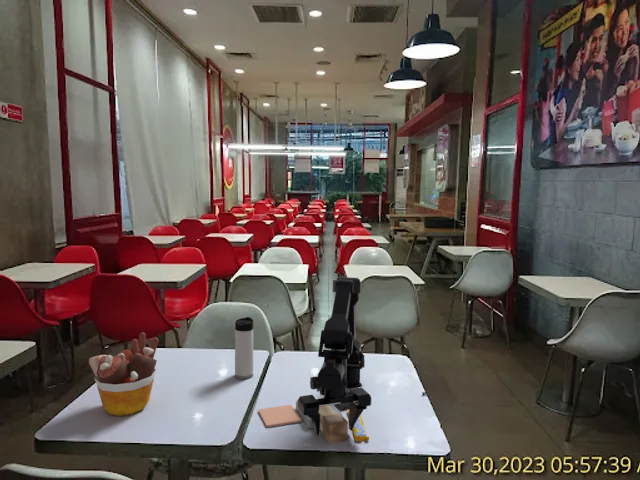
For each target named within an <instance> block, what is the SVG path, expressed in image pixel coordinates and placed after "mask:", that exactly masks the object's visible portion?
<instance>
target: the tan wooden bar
mask: <svg viewBox="0 0 640 480" xmlns="http://www.w3.org/2000/svg"><path fill="white" fill-rule="evenodd" d="M318 413H319V414H320V432H322V429H323V416H327V415H333V414H336V413H335V412H334V410H333V409H332V408H331V407H330V406H329V405H328V406H322V407H319V412H318Z"/></svg>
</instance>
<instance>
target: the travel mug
mask: <svg viewBox="0 0 640 480" xmlns="http://www.w3.org/2000/svg"><path fill="white" fill-rule="evenodd" d="M234 325H235V327H234V376H235V378H237V379H239V380H247V379H251V378H252V377H253V376H254V320H253V318H252V317H251V316H250V317H249V316H246V317H242V318H238V319H236V320H235V324H234Z"/></svg>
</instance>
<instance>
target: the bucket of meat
mask: <svg viewBox="0 0 640 480" xmlns="http://www.w3.org/2000/svg"><path fill="white" fill-rule="evenodd" d="M138 336H139V337H138V339H137V338H133V339H131V343H130V344H131V345H130V346H131V348H127V349H123V350H122V351H120V353H118V354H117V355H115V354H114V355H111V354H108V355H107V354H100V355H96V356H92V357H90V358H89V359H88V364H89V367H90V368H91V369H92V372H93V373H94V381H95V383H96V387H97V390H98V391H97V392H98V394H99V398H100V402H101V405H102V408H103V410H105V412H107V414H109V415H111V416H118V417H123V416H129V415H130V416H131V415H133V414H136V413H139V412H140V411H143V410H144V409H145V407H146V406H147V405H148V403H149V402H150V398H151V394H152V390H153V384H154V380H155V374H156V372H157V371H156V370H157V369H156V366H157V361H158V360H157V359H154V357H155V354H156V351H157V347H158V345H159V342H160V339H159V338H158V337H154V338H153V339H152V341H151V345H150V348H149V347H147V334H146V333H145V332H140V334H139V335H138Z"/></svg>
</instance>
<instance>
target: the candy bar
mask: <svg viewBox="0 0 640 480" xmlns="http://www.w3.org/2000/svg"><path fill="white" fill-rule="evenodd" d="M346 413H347V414H348V417H349V408H347V409H346ZM351 431H352V434H353V440H354V441H355V442H358V443H359V442H367V441H369V440H370V436H367V432H366V428H365V425H364V421H363V416H362V415H360V416H359V418H358V419H357V421H356V423H355V425H354V427H353V429H352V430H351Z"/></svg>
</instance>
